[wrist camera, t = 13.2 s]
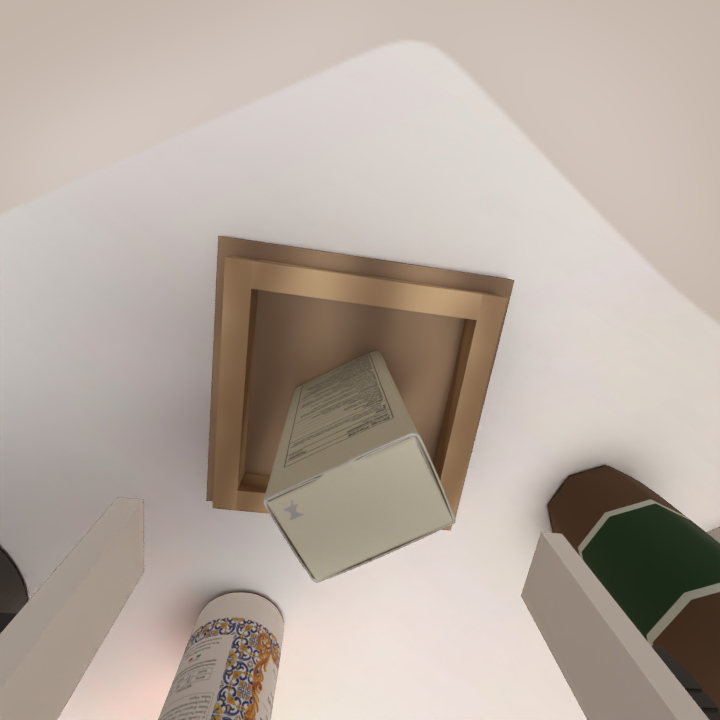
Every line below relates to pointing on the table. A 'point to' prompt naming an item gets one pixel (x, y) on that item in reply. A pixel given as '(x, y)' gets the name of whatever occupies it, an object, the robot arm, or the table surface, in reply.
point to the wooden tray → (343, 352)
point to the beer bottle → (648, 565)
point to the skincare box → (352, 472)
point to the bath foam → (229, 662)
